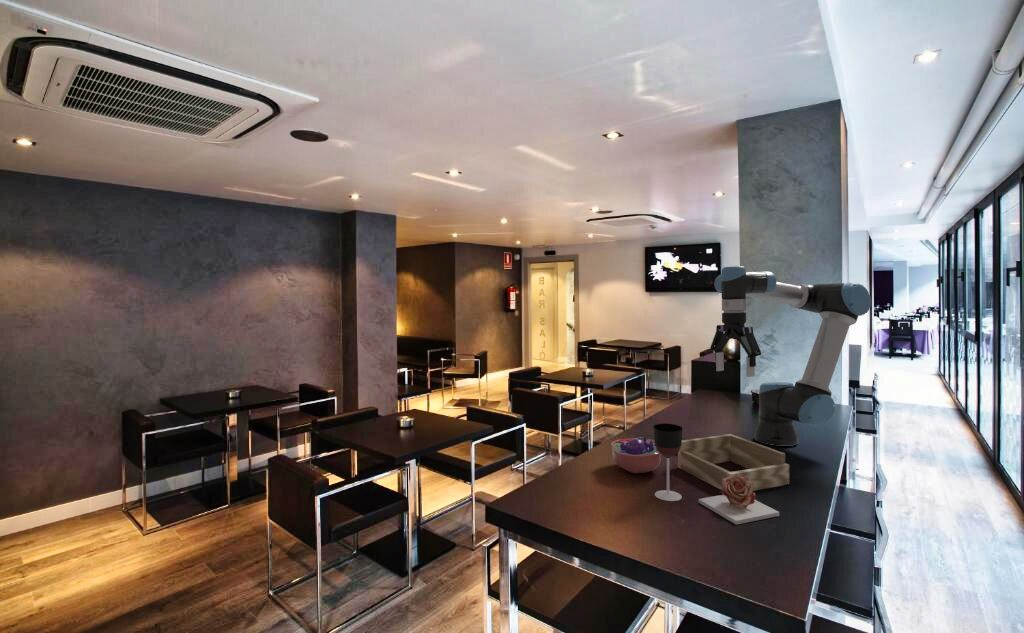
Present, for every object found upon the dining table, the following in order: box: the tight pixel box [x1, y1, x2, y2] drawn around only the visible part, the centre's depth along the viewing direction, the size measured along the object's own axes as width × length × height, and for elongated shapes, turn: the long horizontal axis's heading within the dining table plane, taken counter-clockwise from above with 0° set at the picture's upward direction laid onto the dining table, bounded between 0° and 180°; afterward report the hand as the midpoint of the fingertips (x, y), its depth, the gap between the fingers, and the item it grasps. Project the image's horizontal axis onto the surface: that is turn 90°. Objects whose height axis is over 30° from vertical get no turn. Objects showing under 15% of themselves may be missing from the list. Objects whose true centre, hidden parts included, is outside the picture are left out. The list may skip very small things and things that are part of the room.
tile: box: [698, 494, 780, 525], centre depth 131 cm, size 14×14×1 cm
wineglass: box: [653, 423, 683, 502], centre depth 141 cm, size 8×9×20 cm
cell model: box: [610, 437, 663, 474], centre depth 162 cm, size 17×20×11 cm
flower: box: [718, 474, 756, 508], centre depth 132 cm, size 9×9×7 cm
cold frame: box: [677, 433, 790, 492], centre depth 155 cm, size 22×24×9 cm
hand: (734, 373), depth 167 cm, fingers open, 13 cm apart
